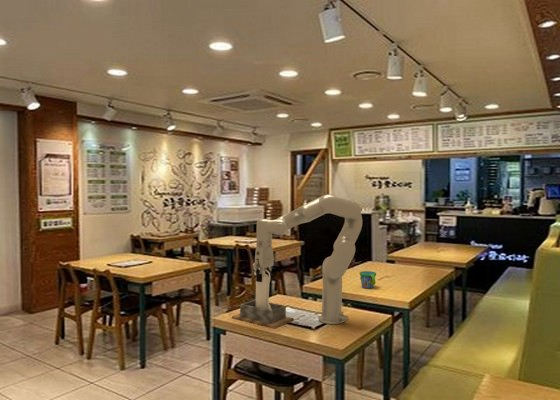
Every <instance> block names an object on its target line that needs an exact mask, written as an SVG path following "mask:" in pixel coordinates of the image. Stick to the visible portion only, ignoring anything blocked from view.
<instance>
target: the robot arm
mask: <svg viewBox="0 0 560 400" xmlns="http://www.w3.org/2000/svg"><path fill="white" fill-rule="evenodd" d="M326 214H331V215H335V216H338V217H341V218H344V223H343V226H342V228H341V231H340V232H339V234H338V236H337V238H336V240H335V241H334V243H333V251H332V253H331V255H330V256H328V257H327V256H326V257H325V259H324V260H323V262H322V266H321V269H322V290H321V291H322V293H321V298H322V300H321V315H319V317H318V321H319V322H320V323H323V324H328V325H340V324H344V322H345V321H347V322H348V321H349V315H345V314H344V311H342V307H343V306H342V305H343V304H342V303H343V301H342V300H343V299H342V298H343V297H342V296H343V276H344V275H345V273H346V272H347V270H348V268H349V266H350V264H351V262H352V260H353V259H354V257H355V253H356V245H355V243H356V241H357V240H358V238H359V235H360V233H361V231H362V227H363V216H362V208H361V205H360V204H359V203H358V202H356V201H352V200H349V199H346V198H343V197H339V196H336V195H333V194H323V195H322V196H319V197H318V198H315V199H313V200H311V201H310V202H307V203H305V204H303V205H301V206H299V207H297V208H296V209H294V210H292V211H290V212H288V213H285V214H284V215H282V216H279V217H277V218H275V219H270V218H260V219H257V221H256V242H255V243H256V246H255V251H254V252H255V255H254V263H255V264H254V263H253V264H254V266H253V265H252V268H253V270H254V272H255V273H256V275H255V276H256V277H255V282H256V281H257V282H262V274H261V272H262V269H263V268H264V269H266V270H268V271H269V272H270V280H271V279H272V270H273V266H274V264H275V259H274V249H273V244H272V243H273V235H277V236H278V235H280V236H282V235H284V234H286V232H287V231H288V230H290V229H292V228H294V227H296V226H298V225H301V224H305V223H310V222H312V221H313V220H315V219H317V218H319V217H321V216H324V215H326ZM259 269H260V270H259ZM265 274H267V275H268V277H269V273H267V272H266V271H265Z"/></svg>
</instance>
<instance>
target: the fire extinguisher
mask: <svg viewBox="0 0 560 400" xmlns="http://www.w3.org/2000/svg"><path fill="white" fill-rule="evenodd" d="M254 264H255V262H253V263H252V267H253V266H254ZM259 271H260V269H259ZM265 271H266V272H267V273H269V277H268V275H267V274H265ZM270 272H271V271H270ZM270 272H269V271H268V270H266V268H263V269H262V272H261V274H262V282H257V281H256V280H255V300H256V307H257V308H262V309H267V310H272V309H271V306H270V304H269V303H270V301H269V299H270V282H271V279H270ZM253 274H254V275H255V276H256V273H255V271H254V273H253Z"/></svg>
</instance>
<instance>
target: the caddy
mask: <svg viewBox="0 0 560 400" xmlns="http://www.w3.org/2000/svg"><path fill="white" fill-rule="evenodd" d="M269 304H270V306H271V309H272V310H267V309H262V308H257V307H256V299H253V300H250V301H247V302H244V303H241V304H239V306H240V307H239V310H240V311H239V313H238V314H234V315H232V316H231V319H233V320H237V321H242V322H246V323H251V324H255V325H258V326H263V327H266V328H271V329H278V328H279V327H282V326H284V325H286V324H289V323H291V322H292V321H295V319H294V318H295V317H289V316H286V315H287V314H286V313H287V311H286V310H287V306H286V305H283V304H280V303H274V302H269Z"/></svg>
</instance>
